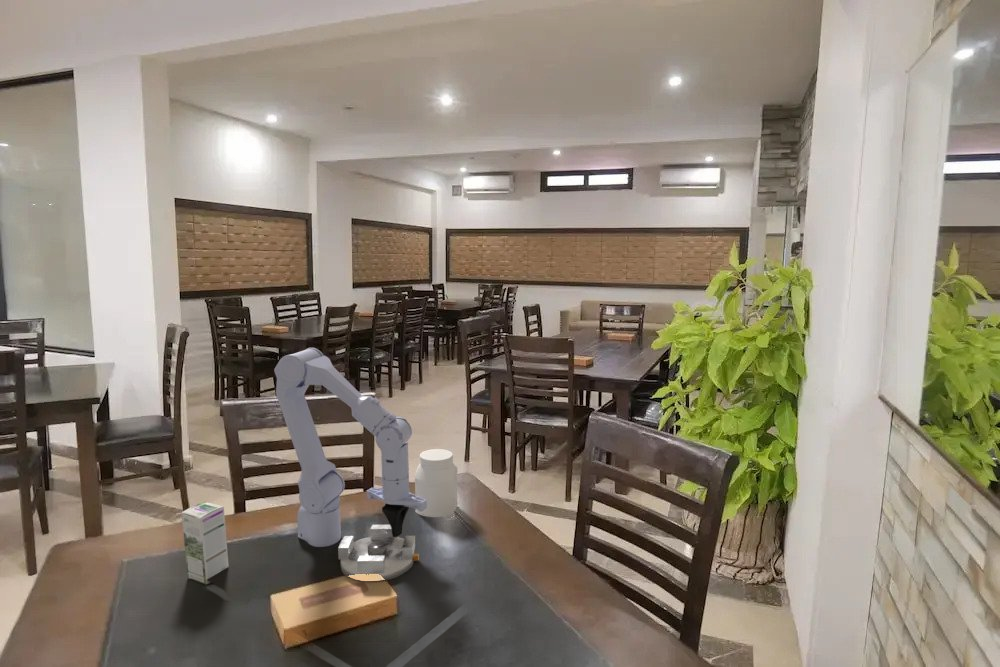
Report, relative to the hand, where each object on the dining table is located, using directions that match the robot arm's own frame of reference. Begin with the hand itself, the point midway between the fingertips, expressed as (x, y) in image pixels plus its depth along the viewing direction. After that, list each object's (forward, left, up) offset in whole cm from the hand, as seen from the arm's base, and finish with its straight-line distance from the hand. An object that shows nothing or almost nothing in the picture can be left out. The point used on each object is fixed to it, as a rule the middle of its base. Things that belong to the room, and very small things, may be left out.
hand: (397, 535), depth 129 cm
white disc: (+1, -6, -3) cm, 7 cm away
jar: (-6, +21, -4) cm, 22 cm away
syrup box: (-25, -28, -4) cm, 38 cm away
